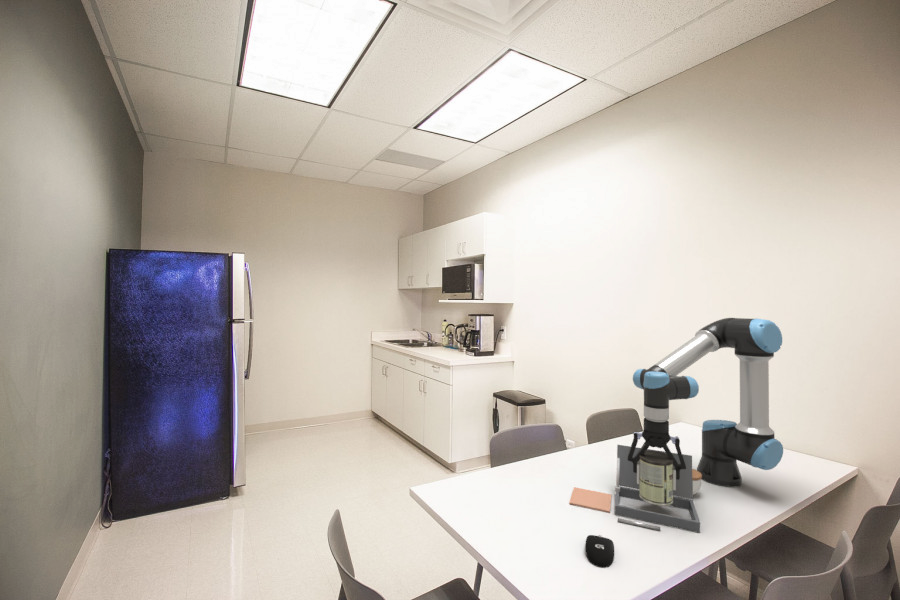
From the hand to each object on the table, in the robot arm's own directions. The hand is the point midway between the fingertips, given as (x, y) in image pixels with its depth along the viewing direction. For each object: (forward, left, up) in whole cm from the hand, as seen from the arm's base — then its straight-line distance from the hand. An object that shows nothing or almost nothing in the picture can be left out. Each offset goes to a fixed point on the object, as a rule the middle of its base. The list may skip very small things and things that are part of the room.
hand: (655, 485), depth 136 cm
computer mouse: (+15, +33, -9) cm, 37 cm away
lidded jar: (-11, -21, -9) cm, 25 cm away
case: (0, -2, -9) cm, 9 cm away
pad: (+20, +1, -9) cm, 22 cm away
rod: (+5, +12, -9) cm, 16 cm away
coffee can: (0, 0, -5) cm, 5 cm away
